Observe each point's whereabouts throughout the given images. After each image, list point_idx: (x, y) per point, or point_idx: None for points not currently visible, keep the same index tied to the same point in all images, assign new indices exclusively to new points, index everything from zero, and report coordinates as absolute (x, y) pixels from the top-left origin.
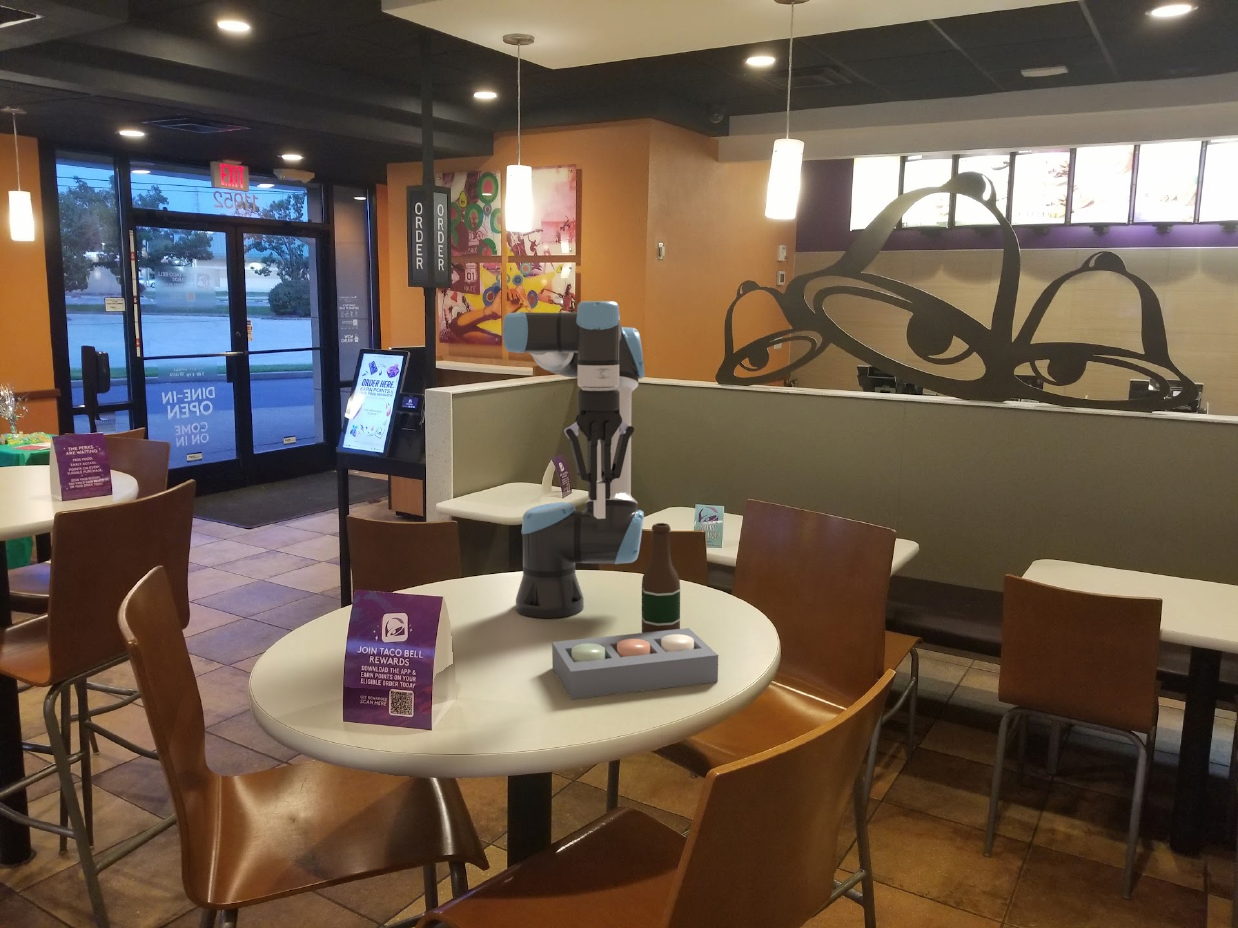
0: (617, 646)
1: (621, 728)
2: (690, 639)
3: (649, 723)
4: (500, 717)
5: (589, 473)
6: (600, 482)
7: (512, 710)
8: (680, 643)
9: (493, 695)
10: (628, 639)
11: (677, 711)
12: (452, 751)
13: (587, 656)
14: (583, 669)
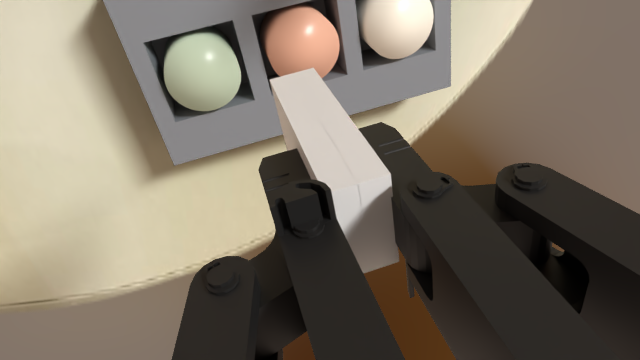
0: (268, 56)
1: (256, 223)
2: (426, 23)
3: None
4: (60, 205)
5: (305, 326)
6: (372, 239)
7: (73, 182)
8: (400, 46)
9: (11, 125)
10: (296, 16)
11: None
12: (22, 297)
13: (203, 109)
14: (198, 154)
